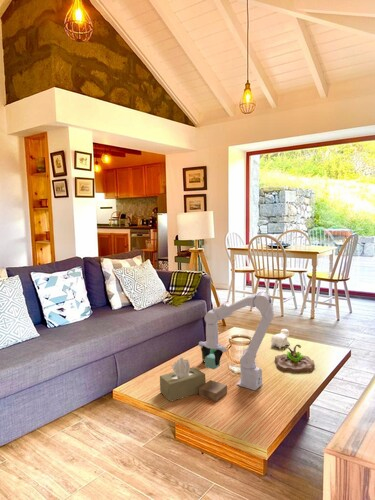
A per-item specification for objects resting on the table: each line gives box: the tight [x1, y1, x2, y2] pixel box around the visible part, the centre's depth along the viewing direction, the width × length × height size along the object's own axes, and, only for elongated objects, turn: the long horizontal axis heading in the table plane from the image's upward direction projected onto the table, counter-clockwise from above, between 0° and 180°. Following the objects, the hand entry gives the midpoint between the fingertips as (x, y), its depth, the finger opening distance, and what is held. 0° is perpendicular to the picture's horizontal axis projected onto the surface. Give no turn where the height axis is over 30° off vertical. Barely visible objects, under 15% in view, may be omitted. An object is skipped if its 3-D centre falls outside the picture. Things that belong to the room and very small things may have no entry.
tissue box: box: [159, 357, 207, 402], centre depth 161 cm, size 19×10×16 cm, turn 120°
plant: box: [274, 344, 316, 374], centre depth 188 cm, size 20×20×11 cm
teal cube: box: [204, 354, 221, 370], centre depth 172 cm, size 5×5×5 cm
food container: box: [200, 346, 216, 362], centre depth 197 cm, size 12×6×10 cm, turn 143°
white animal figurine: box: [270, 328, 291, 350], centre depth 217 cm, size 9×8×15 cm
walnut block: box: [198, 379, 228, 402], centre depth 159 cm, size 9×9×4 cm
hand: (212, 363), depth 172 cm, fingers closed on teal cube, 5 cm apart
